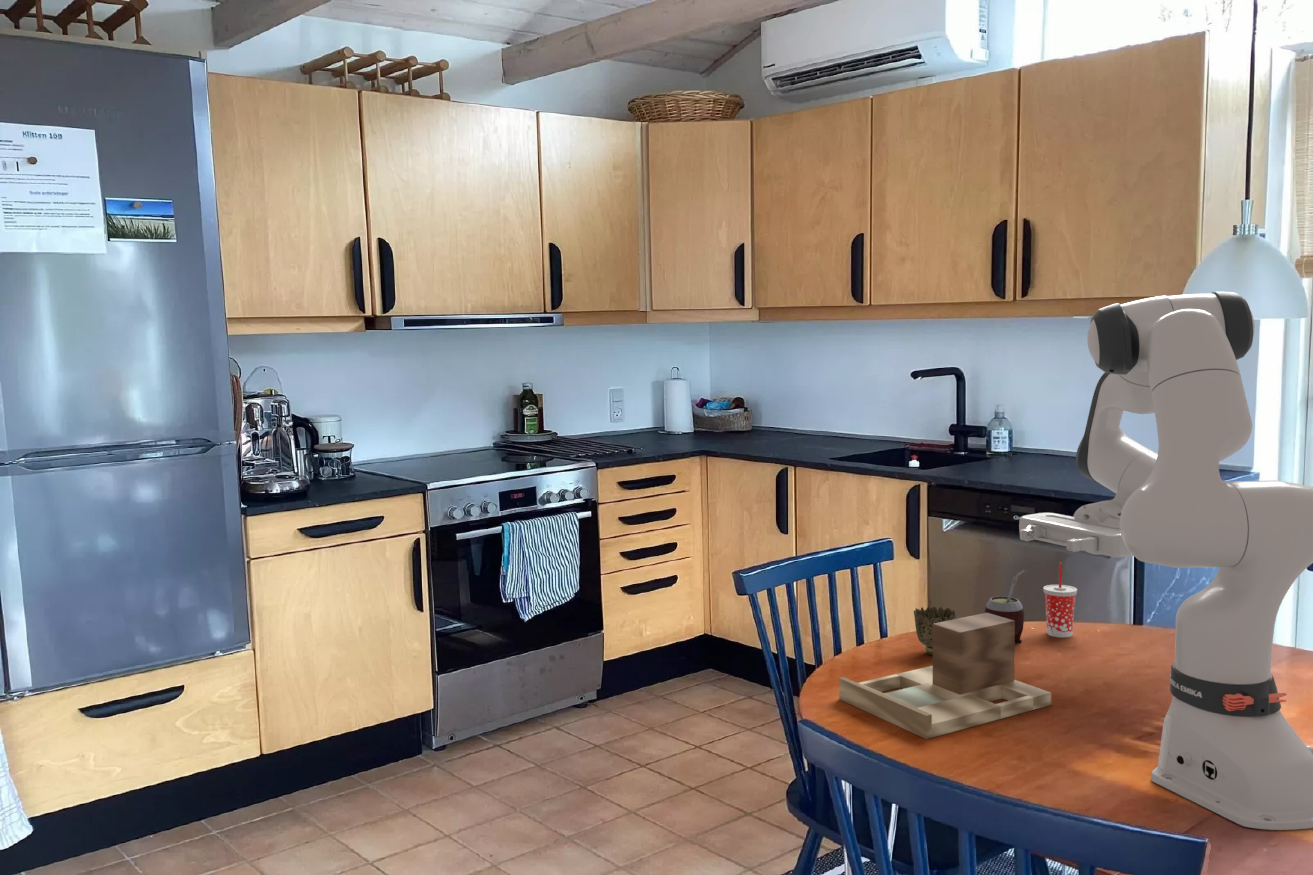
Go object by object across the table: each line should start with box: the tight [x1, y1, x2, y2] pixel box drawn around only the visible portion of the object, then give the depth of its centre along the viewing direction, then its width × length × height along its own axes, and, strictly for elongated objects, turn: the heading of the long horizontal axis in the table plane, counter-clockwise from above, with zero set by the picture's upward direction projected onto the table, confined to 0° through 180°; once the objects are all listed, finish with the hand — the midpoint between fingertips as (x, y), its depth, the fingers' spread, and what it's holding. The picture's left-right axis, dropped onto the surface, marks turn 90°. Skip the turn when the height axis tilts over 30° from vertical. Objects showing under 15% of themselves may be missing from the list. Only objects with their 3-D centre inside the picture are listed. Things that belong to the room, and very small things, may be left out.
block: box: [932, 612, 1016, 695], centre depth 172 cm, size 12×6×10 cm, turn 119°
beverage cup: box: [1043, 562, 1078, 639], centre depth 204 cm, size 6×6×14 cm
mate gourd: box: [984, 568, 1027, 644], centre depth 200 cm, size 8×8×15 cm
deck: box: [838, 665, 1052, 740], centre depth 169 cm, size 26×20×4 cm
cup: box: [913, 605, 957, 656], centre depth 194 cm, size 8×7×8 cm
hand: (1046, 541), depth 179 cm, fingers open, 8 cm apart
